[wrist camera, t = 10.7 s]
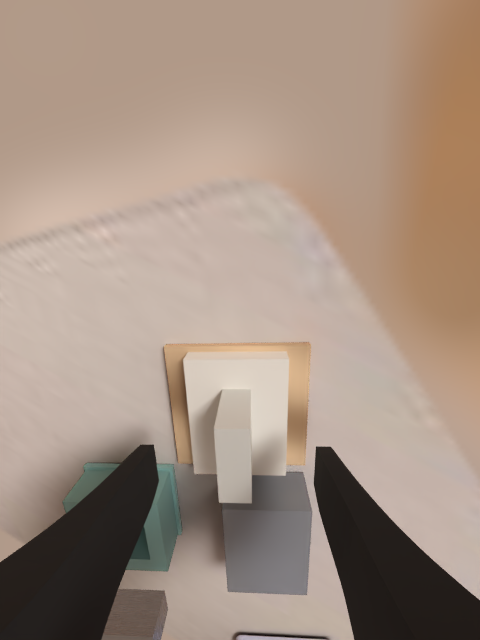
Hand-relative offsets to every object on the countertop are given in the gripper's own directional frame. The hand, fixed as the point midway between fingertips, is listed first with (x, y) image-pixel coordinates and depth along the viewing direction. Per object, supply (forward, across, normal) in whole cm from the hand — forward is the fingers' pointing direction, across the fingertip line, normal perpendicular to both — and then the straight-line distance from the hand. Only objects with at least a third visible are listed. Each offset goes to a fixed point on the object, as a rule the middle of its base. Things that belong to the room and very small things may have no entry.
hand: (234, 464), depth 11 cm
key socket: (+4, +8, +7) cm, 11 cm away
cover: (+4, 0, 0) cm, 4 cm away
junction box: (+4, -2, +8) cm, 10 cm away
